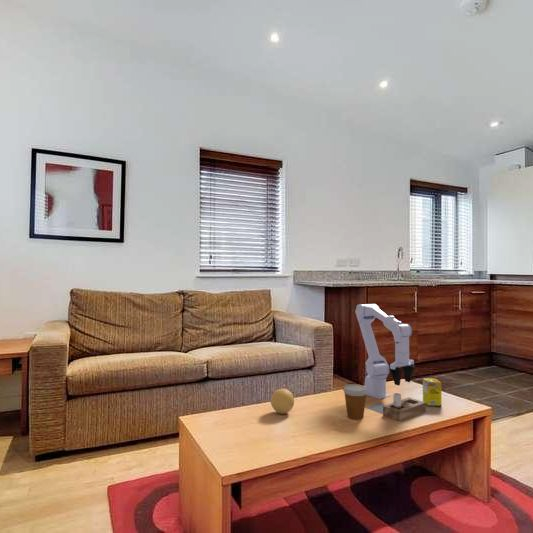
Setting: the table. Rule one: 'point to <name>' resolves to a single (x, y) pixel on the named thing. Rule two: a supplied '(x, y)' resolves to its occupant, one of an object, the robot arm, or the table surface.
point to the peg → (397, 401)
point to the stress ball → (282, 401)
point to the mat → (376, 407)
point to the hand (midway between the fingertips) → (402, 383)
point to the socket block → (405, 409)
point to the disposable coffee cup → (355, 400)
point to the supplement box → (432, 392)
